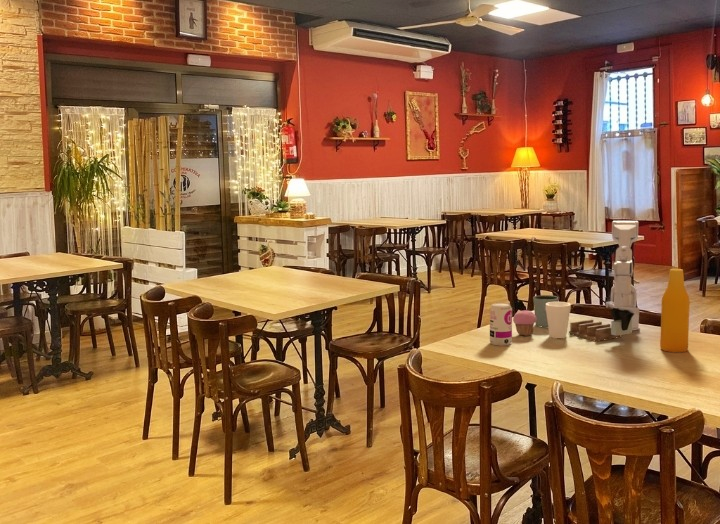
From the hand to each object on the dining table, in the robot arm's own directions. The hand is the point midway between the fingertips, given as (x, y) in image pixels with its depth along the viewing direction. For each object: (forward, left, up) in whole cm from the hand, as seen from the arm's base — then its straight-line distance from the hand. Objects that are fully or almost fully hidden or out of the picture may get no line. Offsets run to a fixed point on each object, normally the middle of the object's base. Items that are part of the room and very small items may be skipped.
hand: (621, 329), depth 269 cm
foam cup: (+13, -20, -6) cm, 24 cm away
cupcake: (+22, -29, -6) cm, 37 cm away
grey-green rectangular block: (0, 0, -2) cm, 2 cm away
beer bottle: (-9, +16, -6) cm, 19 cm away
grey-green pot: (+4, -38, -6) cm, 39 cm away
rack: (0, -14, -5) cm, 15 cm away
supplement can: (+38, -23, -6) cm, 45 cm away
